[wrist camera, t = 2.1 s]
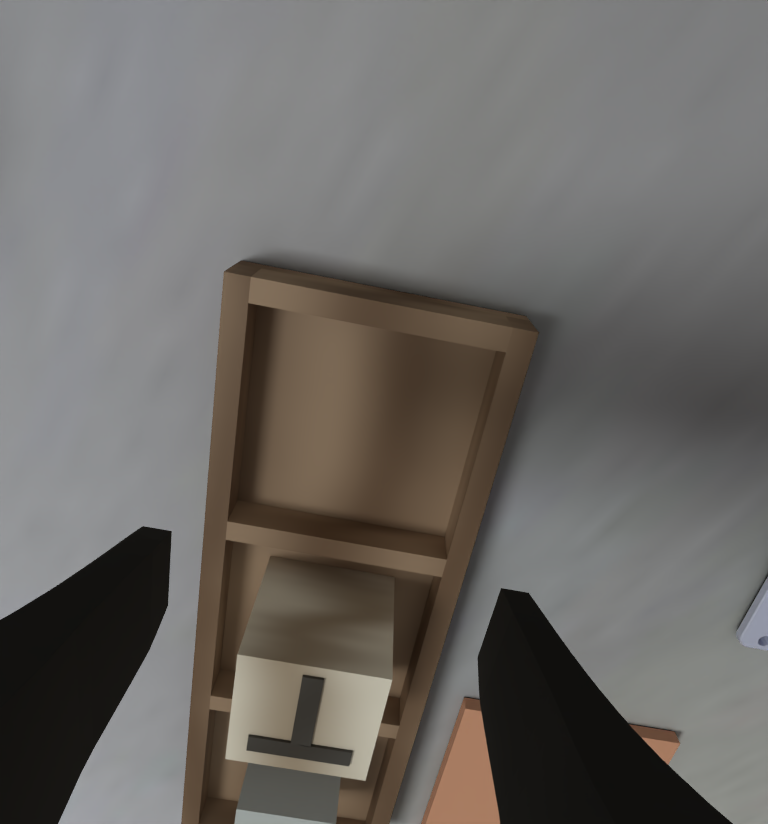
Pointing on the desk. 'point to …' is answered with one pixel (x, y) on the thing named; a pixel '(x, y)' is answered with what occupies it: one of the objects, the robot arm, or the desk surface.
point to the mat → (471, 772)
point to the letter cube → (313, 670)
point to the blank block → (287, 797)
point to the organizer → (344, 485)
